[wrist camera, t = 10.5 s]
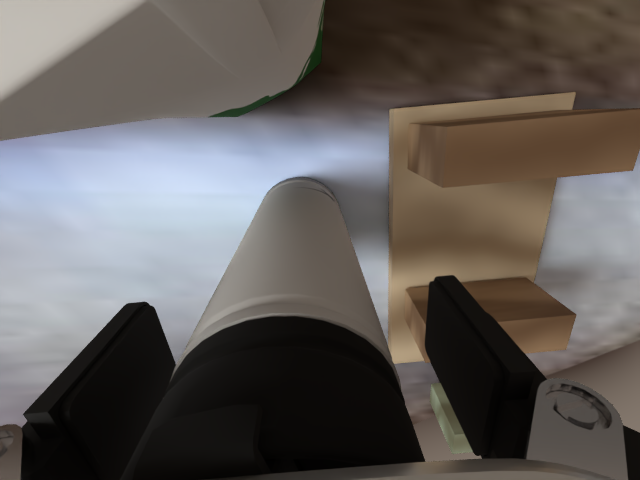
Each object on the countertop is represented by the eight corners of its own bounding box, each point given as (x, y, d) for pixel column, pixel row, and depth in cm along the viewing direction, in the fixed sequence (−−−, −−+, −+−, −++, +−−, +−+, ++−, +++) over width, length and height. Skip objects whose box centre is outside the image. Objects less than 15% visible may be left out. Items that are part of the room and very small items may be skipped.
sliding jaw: (501, 394, 30) (537, 445, 25) (401, 404, 30) (419, 457, 25) (526, 277, 25) (576, 314, 20) (405, 288, 25) (427, 328, 20)
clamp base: (510, 343, 29) (570, 409, 23) (388, 354, 29) (412, 424, 23) (561, 93, 21) (680, 82, 14) (389, 109, 21) (427, 106, 14)
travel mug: (327, 161, 22) (430, 403, 4) (348, 241, 24) (474, 626, 6) (246, 185, 22) (-36, 511, 4) (275, 261, 25) (184, 676, 6)
